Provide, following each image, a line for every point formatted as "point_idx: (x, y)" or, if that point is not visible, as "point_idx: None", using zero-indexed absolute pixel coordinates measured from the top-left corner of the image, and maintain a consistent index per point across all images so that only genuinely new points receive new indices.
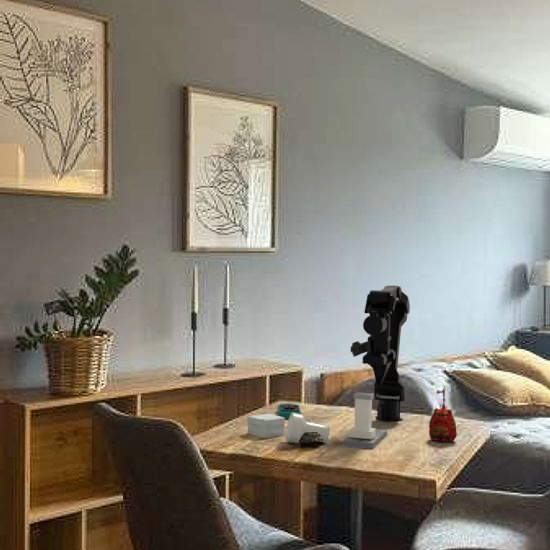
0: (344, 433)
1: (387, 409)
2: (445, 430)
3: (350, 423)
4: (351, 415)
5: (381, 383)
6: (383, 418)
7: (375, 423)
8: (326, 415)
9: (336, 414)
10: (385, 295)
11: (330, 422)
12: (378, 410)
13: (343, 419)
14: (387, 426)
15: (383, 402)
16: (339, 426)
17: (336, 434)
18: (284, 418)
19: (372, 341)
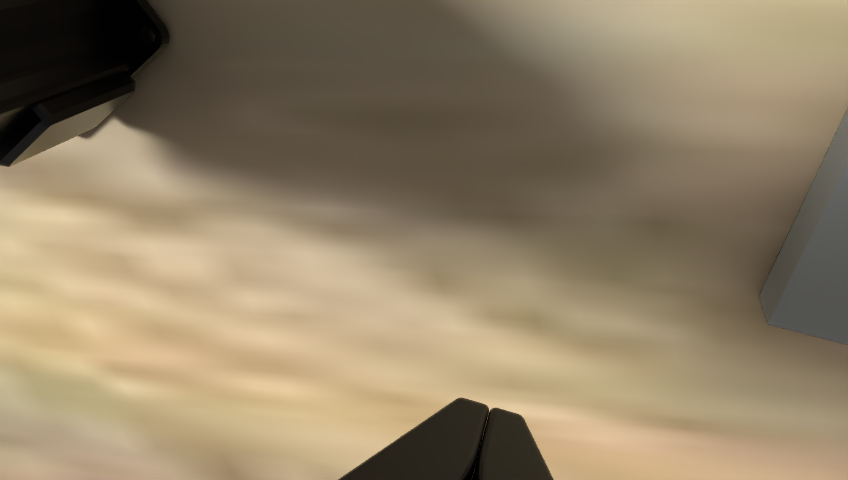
0: (788, 409)
1: (48, 49)
2: None
3: (348, 332)
4: (54, 304)
5: (478, 424)
6: (127, 68)
7: (273, 137)
8: (138, 450)
9: (75, 392)
10: None
11: (360, 454)
12: (60, 137)
13: (219, 366)
14: (374, 23)
15: (4, 117)
16: None
17: (838, 468)
18: None
19: None
